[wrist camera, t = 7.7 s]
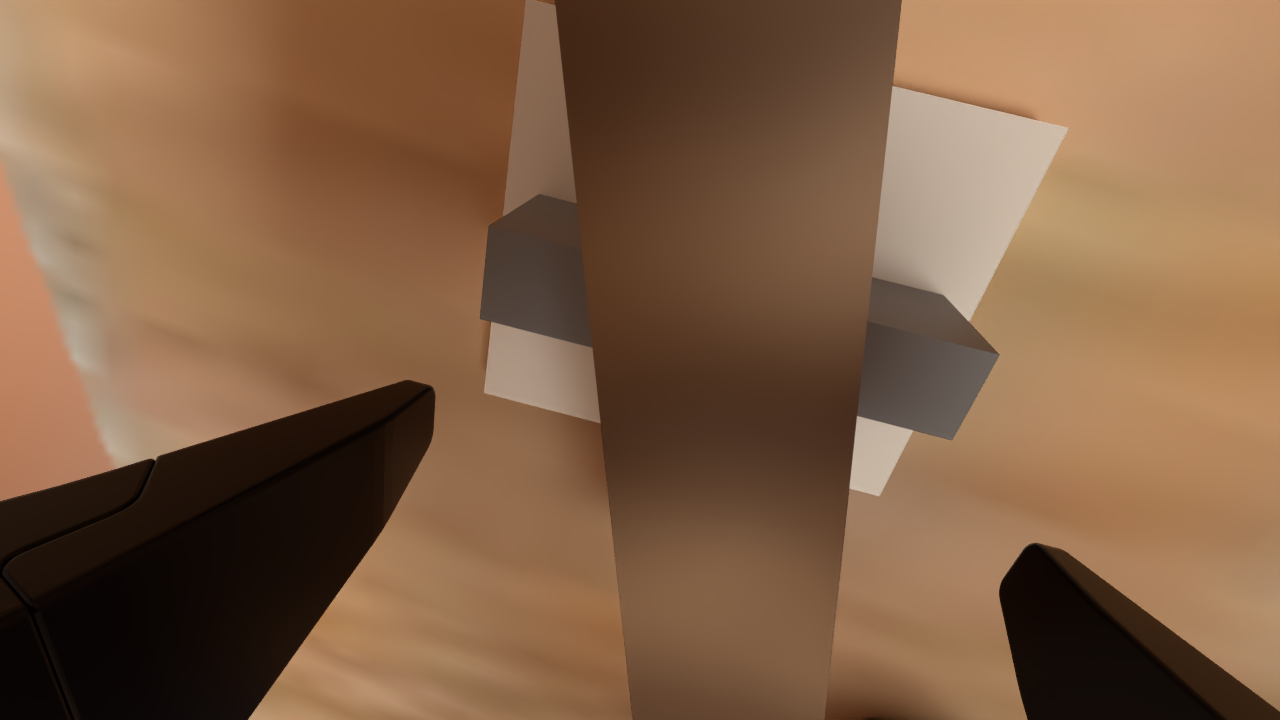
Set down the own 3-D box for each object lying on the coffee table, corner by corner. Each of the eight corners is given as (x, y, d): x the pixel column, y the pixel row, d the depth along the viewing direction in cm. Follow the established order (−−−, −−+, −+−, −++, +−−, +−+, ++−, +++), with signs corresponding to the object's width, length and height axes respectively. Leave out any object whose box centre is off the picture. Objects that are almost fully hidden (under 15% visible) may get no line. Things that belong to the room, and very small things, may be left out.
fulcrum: (870, 469, 22) (910, 587, 17) (499, 373, 22) (432, 460, 17) (1041, 123, 16) (1175, 146, 11) (542, 3, 17) (462, -25, 12)
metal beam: (794, 636, 18) (813, 821, 14) (663, 627, 19) (641, 800, 14) (852, -239, 10) (956, -509, 5) (607, -204, 10) (509, -417, 6)
